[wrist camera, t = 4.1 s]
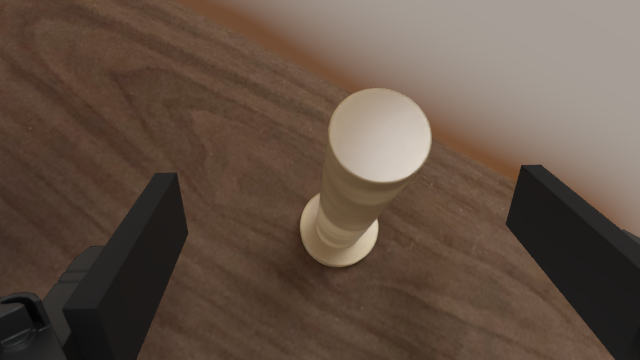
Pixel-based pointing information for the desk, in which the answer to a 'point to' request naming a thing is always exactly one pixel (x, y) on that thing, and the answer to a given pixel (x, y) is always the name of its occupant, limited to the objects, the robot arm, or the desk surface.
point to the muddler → (363, 172)
